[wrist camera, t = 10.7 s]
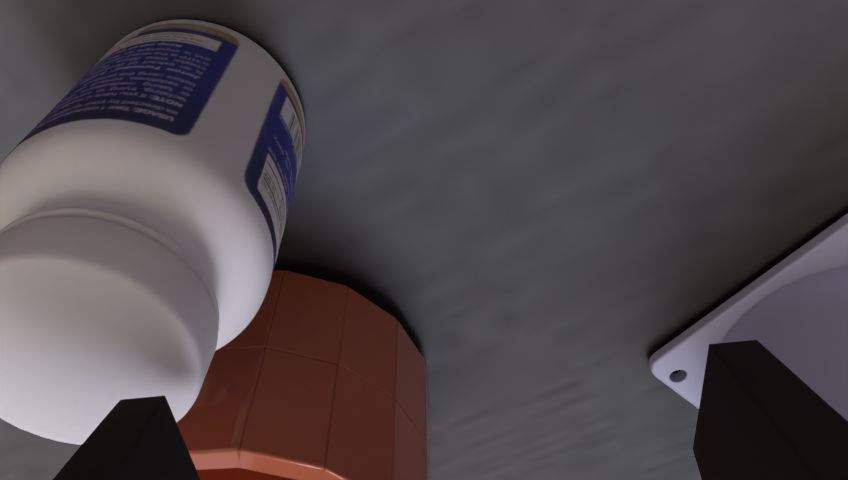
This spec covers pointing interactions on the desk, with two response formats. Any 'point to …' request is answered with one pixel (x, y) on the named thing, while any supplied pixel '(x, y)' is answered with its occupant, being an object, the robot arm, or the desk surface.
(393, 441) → the plant pot
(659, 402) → the desk surface
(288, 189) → the pill bottle
